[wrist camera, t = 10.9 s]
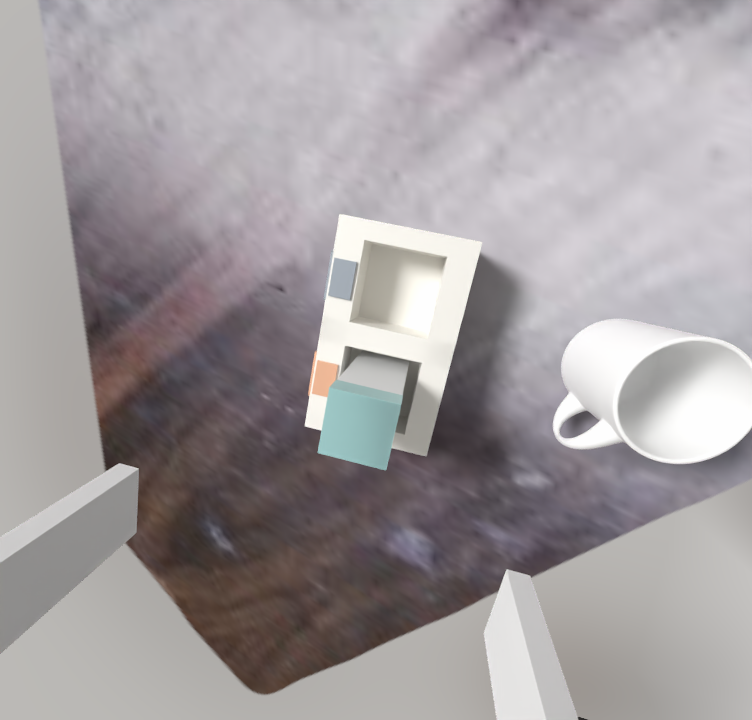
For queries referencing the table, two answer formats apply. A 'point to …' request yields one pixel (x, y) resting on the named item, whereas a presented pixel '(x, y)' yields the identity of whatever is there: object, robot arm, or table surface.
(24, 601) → the robot arm
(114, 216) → the table surface
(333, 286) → the socket box
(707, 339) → the mug
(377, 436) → the plug
